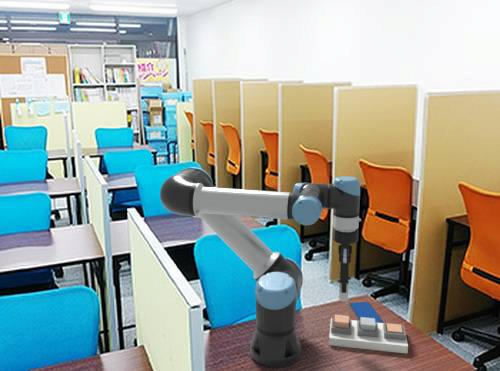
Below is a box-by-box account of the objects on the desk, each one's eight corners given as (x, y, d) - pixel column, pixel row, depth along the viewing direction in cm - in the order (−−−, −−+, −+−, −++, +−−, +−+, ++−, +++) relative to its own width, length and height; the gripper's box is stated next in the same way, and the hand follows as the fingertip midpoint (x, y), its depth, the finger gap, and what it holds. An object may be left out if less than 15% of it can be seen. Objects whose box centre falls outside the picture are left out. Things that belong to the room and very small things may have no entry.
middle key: (360, 330, 144) (360, 324, 143) (360, 322, 148) (360, 317, 147) (375, 331, 143) (375, 325, 142) (374, 324, 147) (374, 318, 146)
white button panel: (328, 345, 143) (329, 332, 142) (330, 324, 154) (331, 313, 153) (407, 353, 138) (408, 340, 137) (403, 332, 149) (404, 320, 148)
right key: (387, 336, 142) (387, 330, 142) (386, 329, 146) (386, 323, 146) (402, 338, 141) (402, 332, 141) (400, 330, 146) (401, 324, 145)
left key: (334, 327, 145) (334, 321, 145) (334, 320, 149) (334, 314, 149) (348, 328, 144) (348, 322, 144) (348, 321, 148) (348, 315, 148)
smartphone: (368, 301, 169) (383, 322, 154) (368, 304, 169) (383, 324, 154) (348, 302, 168) (362, 323, 154) (348, 305, 168) (362, 326, 154)
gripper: (359, 236, 132) (356, 311, 138) (358, 222, 145) (355, 291, 150) (332, 234, 134) (330, 309, 139) (333, 221, 146) (332, 290, 152)
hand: (343, 300), depth 145 cm, fingers closed
